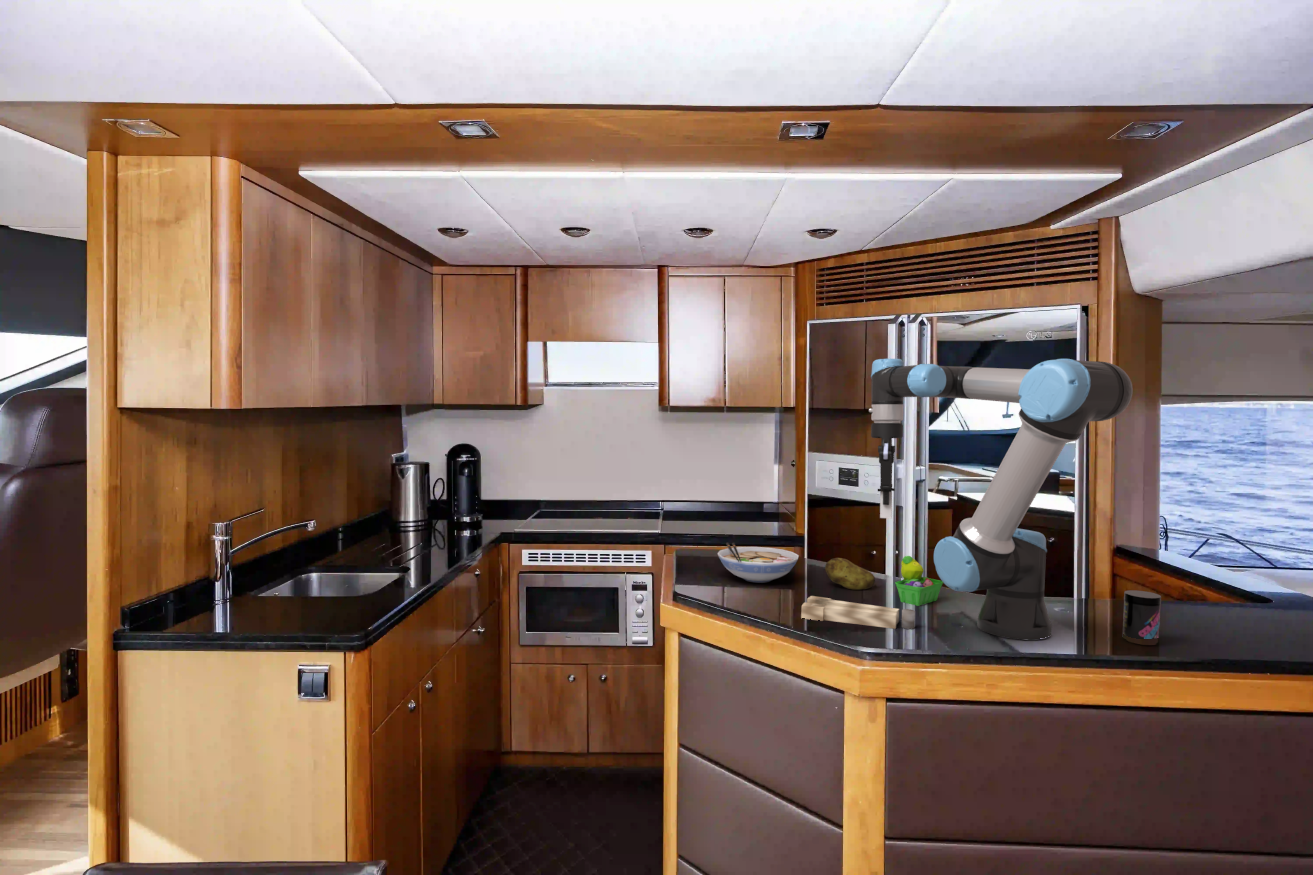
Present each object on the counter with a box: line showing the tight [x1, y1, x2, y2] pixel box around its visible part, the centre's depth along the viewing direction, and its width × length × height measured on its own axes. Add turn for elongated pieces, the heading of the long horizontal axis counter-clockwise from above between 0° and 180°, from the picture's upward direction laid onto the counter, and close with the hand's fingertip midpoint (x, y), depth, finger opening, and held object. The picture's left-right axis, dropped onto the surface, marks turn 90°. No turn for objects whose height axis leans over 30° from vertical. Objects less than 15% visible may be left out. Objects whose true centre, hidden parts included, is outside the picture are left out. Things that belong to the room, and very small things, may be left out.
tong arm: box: [806, 595, 900, 625], centre depth 184 cm, size 21×3×3 cm, turn 62°
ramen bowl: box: [717, 542, 800, 584], centre depth 221 cm, size 25×23×8 cm
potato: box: [824, 557, 876, 590], centre depth 213 cm, size 8×13×8 cm, turn 64°
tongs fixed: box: [800, 601, 916, 630], centre depth 180 cm, size 25×5×4 cm, turn 68°
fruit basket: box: [895, 555, 944, 607], centre depth 201 cm, size 11×9×11 cm
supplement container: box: [1122, 589, 1162, 639], centre depth 169 cm, size 7×7×10 cm
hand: (885, 517), depth 193 cm, fingers closed
